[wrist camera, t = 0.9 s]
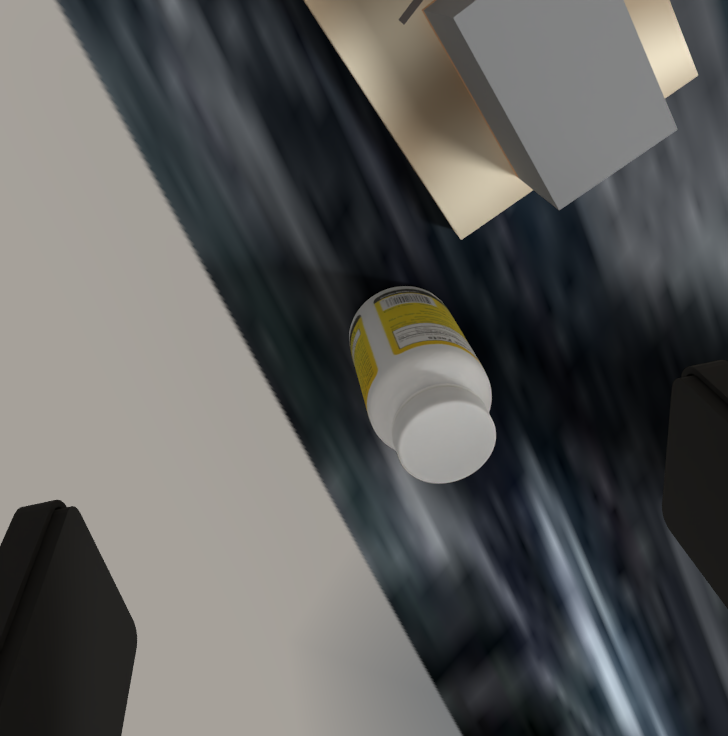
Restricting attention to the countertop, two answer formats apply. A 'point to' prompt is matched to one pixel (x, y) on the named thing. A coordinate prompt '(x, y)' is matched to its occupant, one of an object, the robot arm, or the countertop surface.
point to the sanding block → (556, 86)
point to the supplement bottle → (422, 384)
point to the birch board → (457, 96)
